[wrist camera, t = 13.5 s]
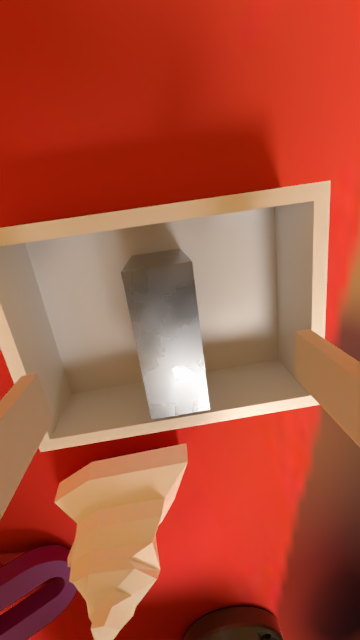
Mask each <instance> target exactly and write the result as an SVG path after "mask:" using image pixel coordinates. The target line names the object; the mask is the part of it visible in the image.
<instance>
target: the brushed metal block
mask: <svg viewBox="0 0 360 640" xmlns="http://www.w3.org/2000/svg"><path fill="white" fill-rule="evenodd" d="M121 275H122V280H123V285H124V290H125V294H126V299H127V304H128V309H129V314H130V319H131V323H132V328H133V333H134V338H135V343H136V348H137V352H138V357H139V362H140V367H141V372H142V377H143V381H144V386H145V391H146V396H147V401H148V406H149V410H150V415H151V420H153V419H159V418H165V417H171V416H177V415H183V414H189V413H194V412H200V411H206V410H210V404H209V396H208V388H207V379H206V371H205V363H204V355H203V346H202V338H201V330H200V322H199V313H198V305H197V297H196V289H195V280H194V272H193V264H192V261H191V260H190V259H189V257H188V256H187V255H186V254H185V253H184V252H183V251H182V250H181V249H173V250H166V251H159V252H153V253H146V254H139V255H133V256H131V258H130V259H129V261H128V262H127V264H126V265H125V267H124V268H123V270H122V271H121Z"/></svg>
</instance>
